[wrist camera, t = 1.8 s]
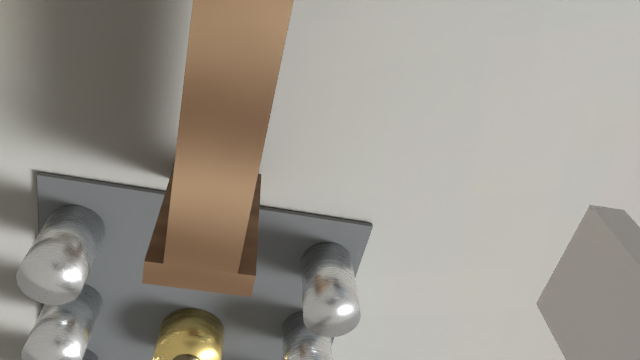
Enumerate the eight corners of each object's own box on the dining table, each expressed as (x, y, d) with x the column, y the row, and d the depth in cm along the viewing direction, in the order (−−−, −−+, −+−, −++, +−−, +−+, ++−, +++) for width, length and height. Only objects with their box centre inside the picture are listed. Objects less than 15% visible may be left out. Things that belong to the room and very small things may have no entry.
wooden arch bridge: (213, -177, 22) (183, -179, 15) (327, -146, 22) (348, -135, 16) (173, 180, 30) (142, 283, 23) (257, 193, 31) (251, 297, 24)
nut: (162, 304, 34) (154, 338, 32) (228, 312, 35) (225, 345, 32) (157, 349, 36) (149, 383, 34) (220, 355, 37) (216, 390, 34)
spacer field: (47, 200, 30) (14, 253, 26) (357, 245, 33) (367, 299, 29) (51, 374, 37) (25, 436, 33) (305, 399, 40) (308, 458, 36)
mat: (39, 172, 29) (36, 175, 29) (371, 223, 32) (372, 226, 32) (45, 375, 37) (43, 379, 37) (310, 400, 40) (311, 404, 40)
